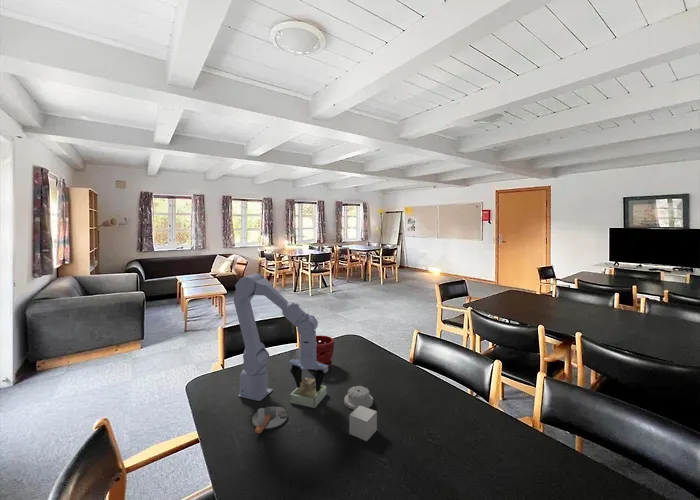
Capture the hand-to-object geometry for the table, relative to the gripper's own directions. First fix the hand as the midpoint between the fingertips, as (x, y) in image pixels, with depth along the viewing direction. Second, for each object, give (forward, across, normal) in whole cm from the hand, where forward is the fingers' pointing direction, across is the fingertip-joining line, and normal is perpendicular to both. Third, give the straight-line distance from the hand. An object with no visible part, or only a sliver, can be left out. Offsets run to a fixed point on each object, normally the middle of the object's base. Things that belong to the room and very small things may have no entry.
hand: (308, 388), depth 114 cm
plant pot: (+4, -8, +25) cm, 27 cm away
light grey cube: (+4, +24, -11) cm, 27 cm away
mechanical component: (+4, +18, +4) cm, 18 cm away
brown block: (+3, 0, 0) cm, 3 cm away
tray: (+4, 0, 0) cm, 4 cm away
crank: (+3, -5, -19) cm, 19 cm away
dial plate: (+4, -6, -15) cm, 17 cm away
